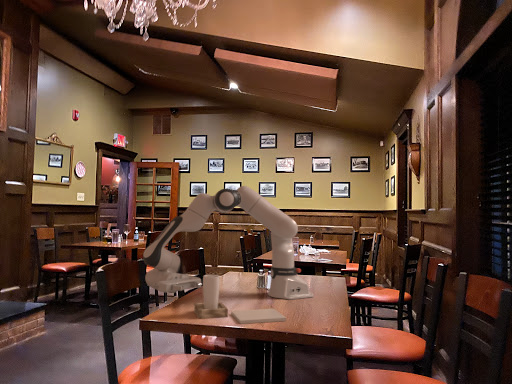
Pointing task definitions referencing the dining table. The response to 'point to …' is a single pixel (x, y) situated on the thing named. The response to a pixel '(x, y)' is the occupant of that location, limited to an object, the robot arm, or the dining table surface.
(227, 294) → the dining table surface
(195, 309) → the wooden tray
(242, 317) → the plate
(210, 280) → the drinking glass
